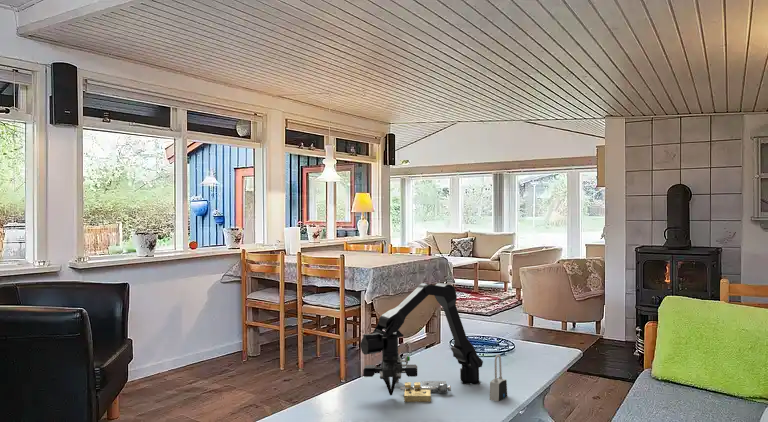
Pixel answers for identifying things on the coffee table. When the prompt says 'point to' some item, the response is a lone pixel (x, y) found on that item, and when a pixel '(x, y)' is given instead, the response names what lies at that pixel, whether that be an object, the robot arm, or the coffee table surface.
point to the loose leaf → (416, 393)
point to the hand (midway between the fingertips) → (391, 395)
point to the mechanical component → (403, 361)
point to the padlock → (498, 384)
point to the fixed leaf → (432, 386)
